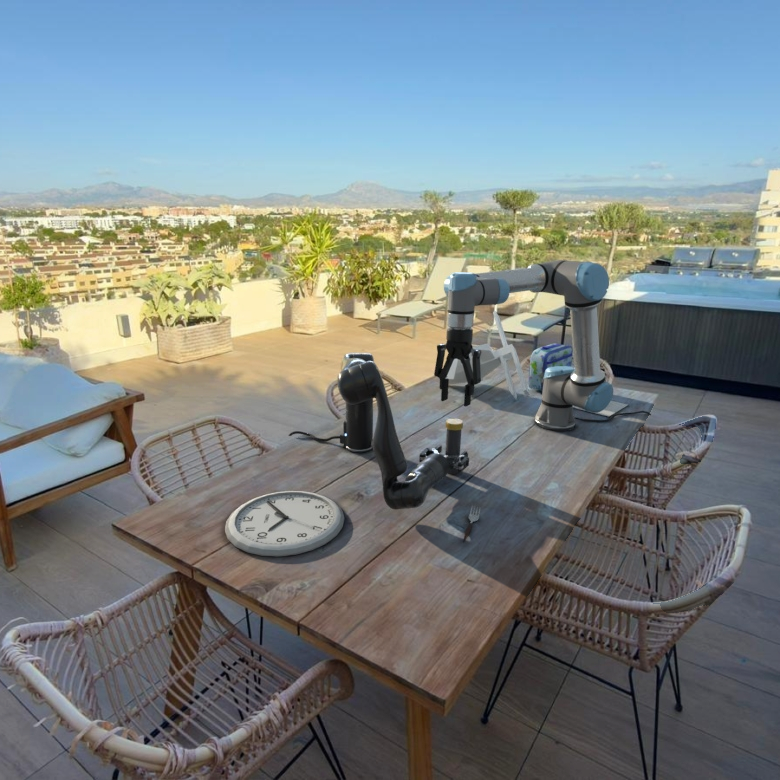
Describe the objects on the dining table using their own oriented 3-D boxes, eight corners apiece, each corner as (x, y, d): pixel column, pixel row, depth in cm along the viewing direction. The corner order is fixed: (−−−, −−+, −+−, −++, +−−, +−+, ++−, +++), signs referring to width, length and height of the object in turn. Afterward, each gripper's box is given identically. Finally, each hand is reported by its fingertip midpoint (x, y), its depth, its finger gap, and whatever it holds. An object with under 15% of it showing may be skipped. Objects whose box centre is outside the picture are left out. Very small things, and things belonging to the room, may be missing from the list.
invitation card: (608, 416, 214) (573, 407, 224) (608, 416, 214) (573, 408, 224) (628, 404, 229) (594, 396, 238) (628, 405, 229) (594, 397, 238)
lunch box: (544, 395, 239) (549, 351, 233) (524, 390, 247) (528, 347, 240) (571, 384, 257) (577, 343, 251) (552, 380, 264) (556, 339, 258)
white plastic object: (461, 429, 252) (437, 405, 227) (444, 352, 274) (420, 323, 250) (535, 404, 240) (518, 377, 215) (510, 326, 262) (492, 293, 237)
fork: (457, 543, 126) (458, 536, 126) (471, 511, 141) (471, 504, 140) (468, 545, 125) (468, 538, 125) (480, 513, 140) (481, 506, 139)
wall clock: (344, 547, 121) (211, 552, 118) (344, 554, 121) (212, 558, 119) (344, 486, 149) (237, 489, 147) (344, 491, 150) (237, 494, 147)
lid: (454, 431, 157) (455, 425, 156) (442, 426, 160) (442, 420, 160) (466, 427, 160) (466, 421, 159) (453, 423, 164) (454, 417, 163)
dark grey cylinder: (452, 475, 161) (454, 426, 157) (441, 470, 165) (444, 422, 160) (461, 471, 164) (464, 423, 159) (451, 466, 167) (454, 419, 163)
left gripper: (455, 464, 145) (475, 444, 158) (409, 453, 151) (432, 435, 165) (453, 488, 147) (474, 467, 161) (408, 476, 154) (432, 456, 167)
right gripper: (497, 329, 148) (491, 406, 155) (437, 321, 159) (433, 393, 166) (485, 333, 142) (479, 413, 149) (423, 324, 154) (420, 398, 160)
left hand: (453, 450), depth 163 cm, fingers open, 8 cm apart
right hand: (455, 402), depth 158 cm, fingers open, 7 cm apart
